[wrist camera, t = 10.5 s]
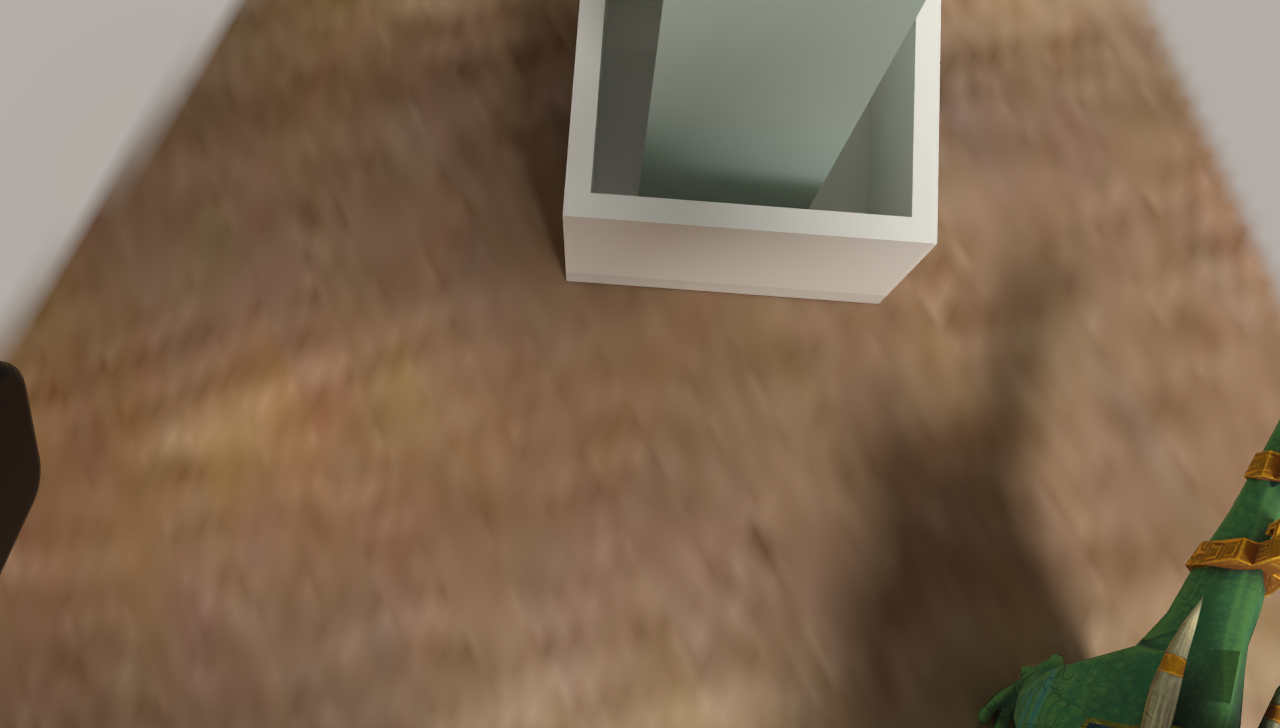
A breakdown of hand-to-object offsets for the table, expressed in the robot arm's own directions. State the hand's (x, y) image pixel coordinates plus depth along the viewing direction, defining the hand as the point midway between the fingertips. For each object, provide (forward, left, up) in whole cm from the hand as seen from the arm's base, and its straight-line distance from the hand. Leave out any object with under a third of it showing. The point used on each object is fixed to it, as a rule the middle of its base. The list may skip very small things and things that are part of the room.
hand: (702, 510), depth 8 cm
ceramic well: (+8, -1, -14) cm, 16 cm away
